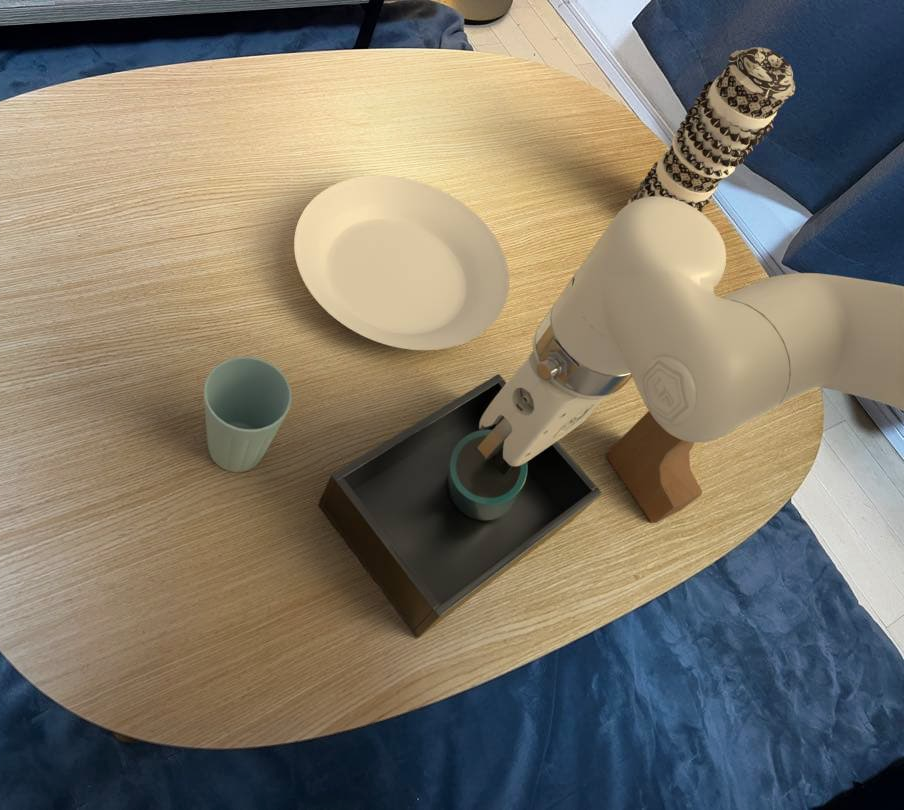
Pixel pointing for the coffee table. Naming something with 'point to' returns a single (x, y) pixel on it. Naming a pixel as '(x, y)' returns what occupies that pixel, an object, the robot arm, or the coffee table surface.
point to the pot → (481, 481)
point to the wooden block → (655, 468)
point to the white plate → (401, 262)
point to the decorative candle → (721, 128)
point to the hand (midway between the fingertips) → (498, 458)
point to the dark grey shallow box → (445, 513)
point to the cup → (244, 410)
